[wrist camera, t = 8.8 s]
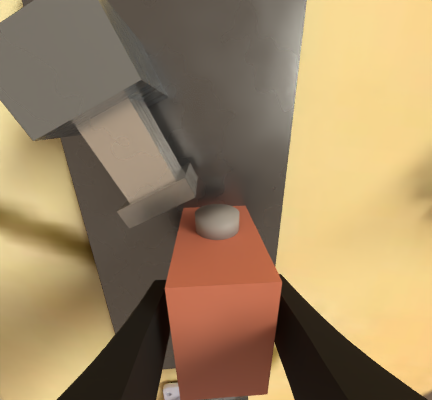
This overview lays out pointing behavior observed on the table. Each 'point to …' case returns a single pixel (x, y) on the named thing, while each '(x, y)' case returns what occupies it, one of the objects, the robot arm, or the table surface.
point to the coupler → (221, 304)
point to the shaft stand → (157, 118)
